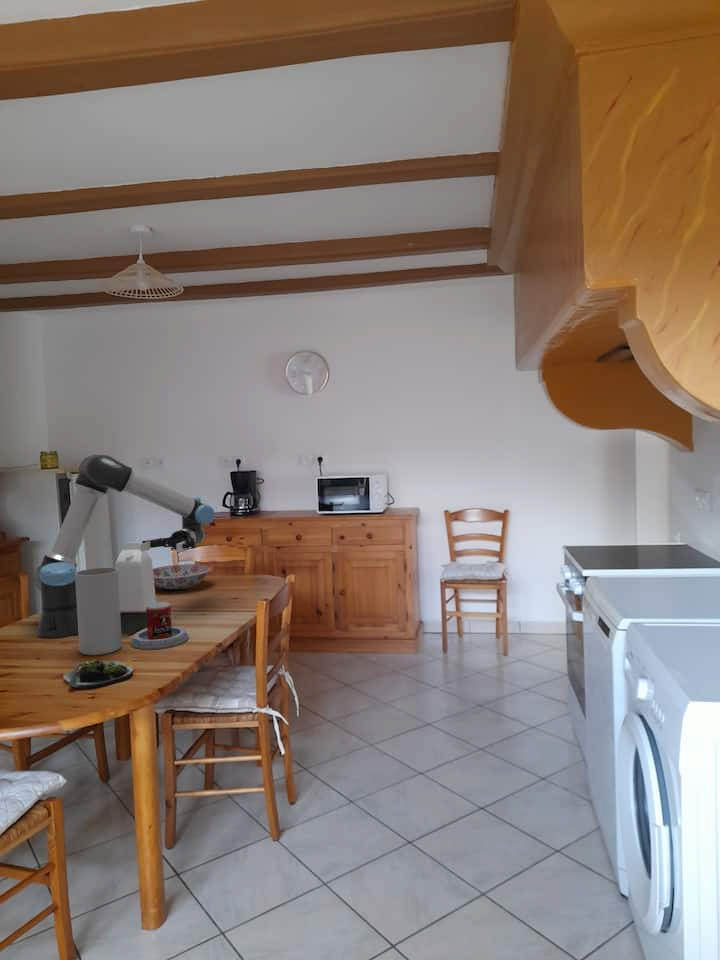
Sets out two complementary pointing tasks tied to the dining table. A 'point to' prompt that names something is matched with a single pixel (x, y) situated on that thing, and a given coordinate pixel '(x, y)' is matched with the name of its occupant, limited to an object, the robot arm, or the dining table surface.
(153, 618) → the canned food
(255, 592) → the dining table surface
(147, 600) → the milk
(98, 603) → the cylinder vase
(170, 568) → the ceramic bowl
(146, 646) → the round tray
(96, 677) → the salad plate
